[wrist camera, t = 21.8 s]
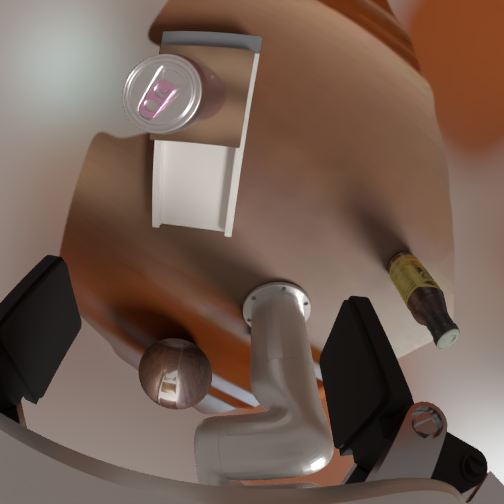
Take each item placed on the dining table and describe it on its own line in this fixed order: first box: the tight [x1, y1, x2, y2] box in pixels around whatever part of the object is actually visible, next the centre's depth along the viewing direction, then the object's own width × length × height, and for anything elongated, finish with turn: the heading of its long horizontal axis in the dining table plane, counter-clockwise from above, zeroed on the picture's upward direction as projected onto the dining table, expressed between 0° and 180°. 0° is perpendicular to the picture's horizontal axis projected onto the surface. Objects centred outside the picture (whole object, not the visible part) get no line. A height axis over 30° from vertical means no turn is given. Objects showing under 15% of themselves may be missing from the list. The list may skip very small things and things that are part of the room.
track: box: [152, 31, 262, 237], centre depth 35 cm, size 28×12×5 cm, turn 171°
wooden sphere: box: [139, 338, 212, 409], centre depth 53 cm, size 15×15×15 cm
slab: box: [150, 45, 255, 148], centre depth 30 cm, size 12×11×5 cm
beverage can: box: [122, 53, 226, 134], centre depth 22 cm, size 6×6×15 cm
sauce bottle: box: [388, 252, 460, 349], centre depth 39 cm, size 7×6×20 cm
